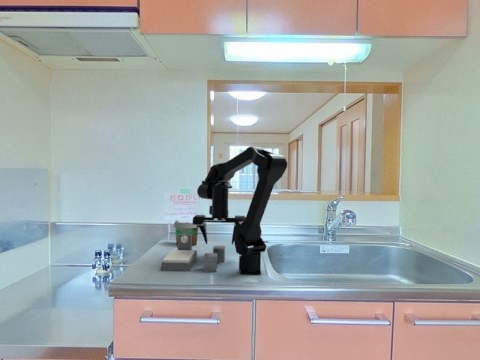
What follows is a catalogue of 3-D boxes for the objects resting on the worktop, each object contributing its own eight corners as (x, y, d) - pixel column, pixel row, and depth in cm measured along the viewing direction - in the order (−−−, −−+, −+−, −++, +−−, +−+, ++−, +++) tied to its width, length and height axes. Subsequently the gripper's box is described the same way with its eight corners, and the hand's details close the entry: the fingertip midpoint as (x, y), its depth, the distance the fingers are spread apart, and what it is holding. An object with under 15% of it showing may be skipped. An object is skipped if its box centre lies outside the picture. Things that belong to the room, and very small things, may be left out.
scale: (197, 256, 121) (197, 234, 121) (189, 270, 104) (190, 244, 104) (172, 256, 121) (173, 233, 121) (161, 270, 104) (161, 243, 104)
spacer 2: (224, 259, 118) (225, 245, 118) (224, 262, 114) (224, 248, 114) (213, 259, 118) (214, 245, 118) (212, 262, 114) (213, 248, 114)
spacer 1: (217, 268, 107) (217, 253, 107) (216, 272, 103) (216, 256, 103) (204, 268, 107) (205, 253, 107) (203, 271, 103) (203, 256, 103)
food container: (167, 244, 140) (167, 221, 139) (176, 242, 145) (176, 220, 145) (190, 248, 134) (191, 224, 134) (199, 245, 139) (199, 222, 139)
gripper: (246, 199, 124) (245, 239, 124) (197, 198, 124) (196, 239, 124) (246, 201, 113) (245, 246, 113) (192, 200, 113) (192, 245, 113)
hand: (219, 244), depth 116 cm, fingers open, 9 cm apart
